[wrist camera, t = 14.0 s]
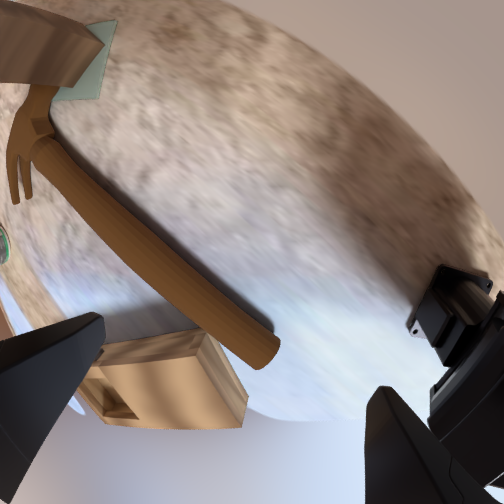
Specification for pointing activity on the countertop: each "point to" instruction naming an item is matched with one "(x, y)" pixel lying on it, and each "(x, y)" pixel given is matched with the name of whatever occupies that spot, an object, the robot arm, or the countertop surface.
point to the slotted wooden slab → (165, 383)
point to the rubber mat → (91, 67)
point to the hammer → (129, 234)
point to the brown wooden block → (43, 46)
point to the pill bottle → (4, 247)
